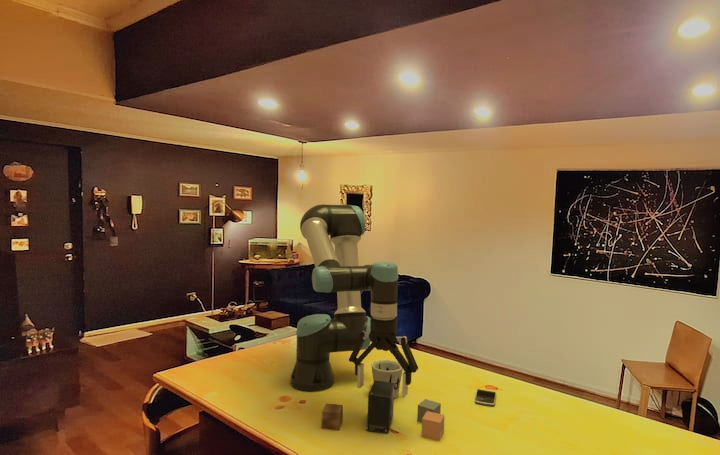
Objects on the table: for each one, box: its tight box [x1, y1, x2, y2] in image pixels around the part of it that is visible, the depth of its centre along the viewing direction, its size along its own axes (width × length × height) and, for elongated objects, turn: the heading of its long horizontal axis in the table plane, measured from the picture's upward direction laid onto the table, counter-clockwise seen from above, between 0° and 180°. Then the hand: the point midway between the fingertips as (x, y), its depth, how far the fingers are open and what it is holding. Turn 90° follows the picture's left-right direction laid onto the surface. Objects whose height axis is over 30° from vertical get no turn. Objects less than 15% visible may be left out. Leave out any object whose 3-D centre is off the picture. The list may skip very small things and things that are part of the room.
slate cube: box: [416, 398, 442, 424], centre depth 125 cm, size 5×5×5 cm
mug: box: [371, 359, 404, 399], centre depth 144 cm, size 10×15×10 cm
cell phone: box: [474, 388, 497, 408], centre depth 141 cm, size 6×11×1 cm, turn 159°
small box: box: [366, 380, 395, 434], centre depth 123 cm, size 11×6×10 cm, turn 168°
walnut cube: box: [321, 402, 344, 431], centre depth 121 cm, size 5×5×5 cm
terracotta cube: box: [421, 411, 446, 442], centre depth 118 cm, size 5×5×5 cm
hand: (382, 391), depth 122 cm, fingers open, 13 cm apart
